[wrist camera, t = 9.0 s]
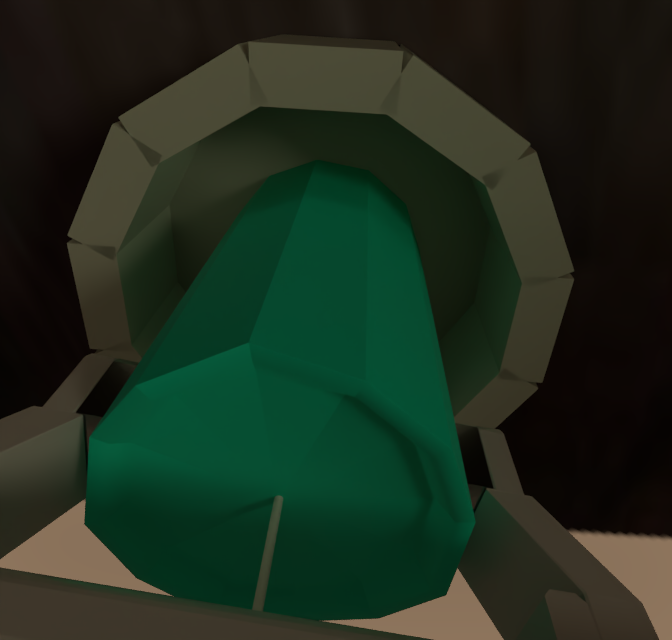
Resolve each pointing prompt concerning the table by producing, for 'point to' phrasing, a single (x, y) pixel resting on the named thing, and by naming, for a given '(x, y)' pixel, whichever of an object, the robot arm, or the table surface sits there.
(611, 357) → the table surface
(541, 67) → the table surface
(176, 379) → the candle
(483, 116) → the dish
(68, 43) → the table surface
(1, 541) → the robot arm
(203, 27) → the table surface
